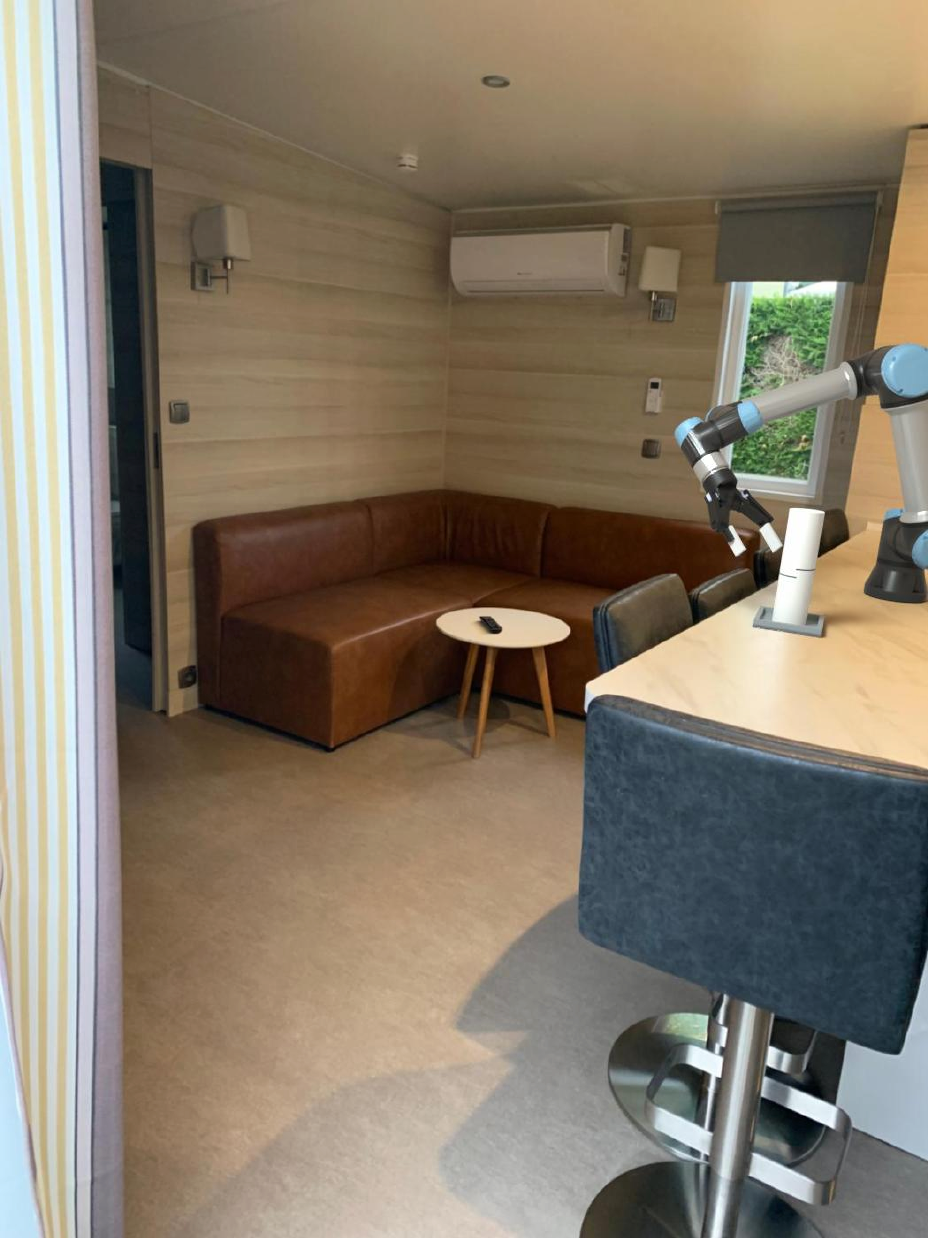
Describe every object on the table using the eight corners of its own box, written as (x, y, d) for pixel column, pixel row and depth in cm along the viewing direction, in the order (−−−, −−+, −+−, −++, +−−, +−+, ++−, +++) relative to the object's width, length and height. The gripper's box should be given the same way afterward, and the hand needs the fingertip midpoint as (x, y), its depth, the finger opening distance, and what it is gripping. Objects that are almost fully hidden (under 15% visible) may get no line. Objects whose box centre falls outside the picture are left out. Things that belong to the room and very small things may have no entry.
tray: (823, 622, 202) (824, 615, 201) (820, 637, 189) (821, 629, 189) (759, 613, 207) (760, 605, 207) (752, 626, 195) (753, 619, 194)
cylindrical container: (808, 628, 194) (827, 514, 188) (774, 624, 195) (792, 511, 189) (802, 619, 201) (821, 509, 194) (770, 616, 202) (787, 506, 196)
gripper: (738, 485, 220) (781, 556, 212) (670, 487, 206) (713, 563, 198) (759, 465, 214) (804, 538, 207) (691, 466, 200) (736, 544, 192)
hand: (759, 551), depth 202 cm, fingers open, 13 cm apart
